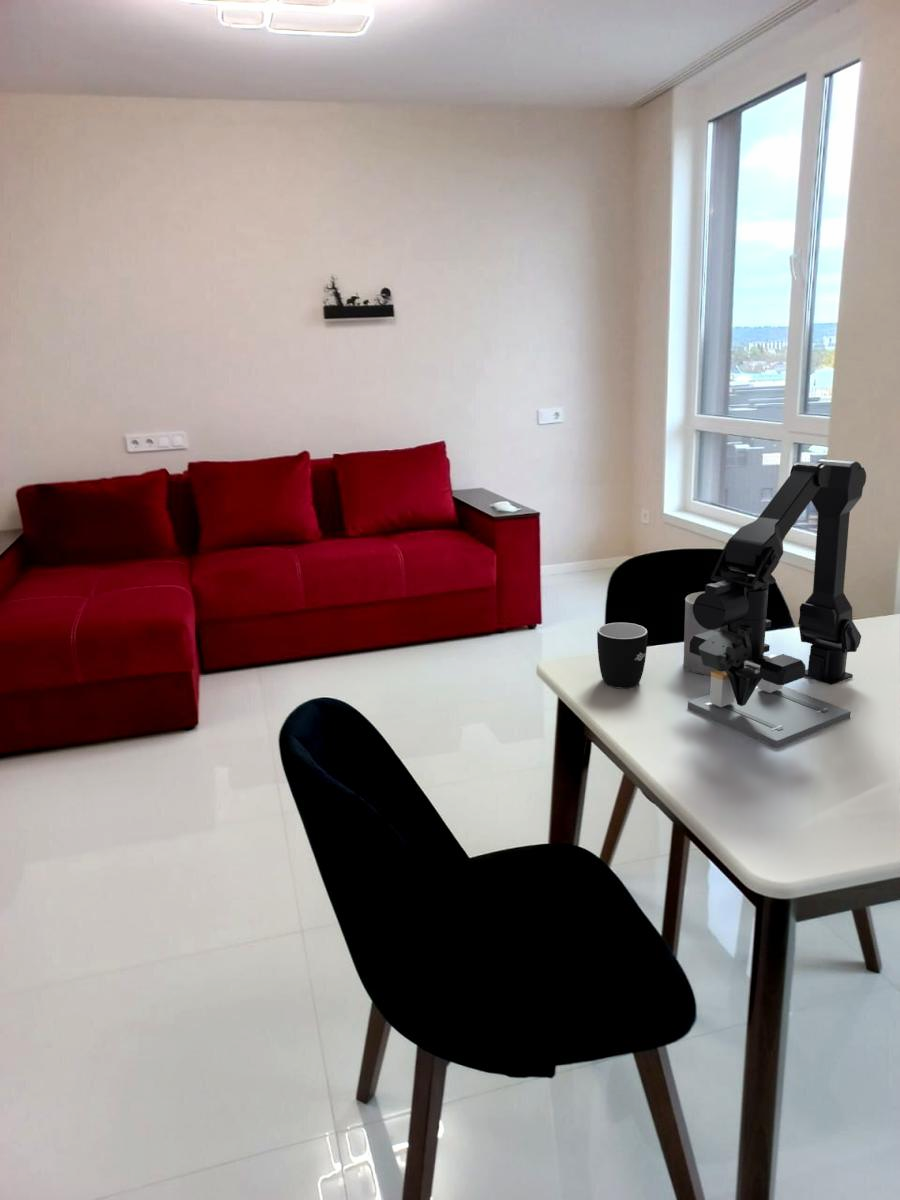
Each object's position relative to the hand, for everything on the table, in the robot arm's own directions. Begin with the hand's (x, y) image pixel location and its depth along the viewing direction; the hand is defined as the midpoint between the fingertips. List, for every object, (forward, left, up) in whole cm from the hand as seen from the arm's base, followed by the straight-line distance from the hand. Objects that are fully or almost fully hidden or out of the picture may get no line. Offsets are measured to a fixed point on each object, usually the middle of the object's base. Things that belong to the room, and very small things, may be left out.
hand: (741, 704), depth 133 cm
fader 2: (-11, -3, -1) cm, 11 cm away
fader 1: (0, -4, -1) cm, 4 cm away
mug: (+4, -24, -3) cm, 25 cm away
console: (-5, +1, -3) cm, 6 cm away
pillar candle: (-13, -19, -3) cm, 24 cm away
